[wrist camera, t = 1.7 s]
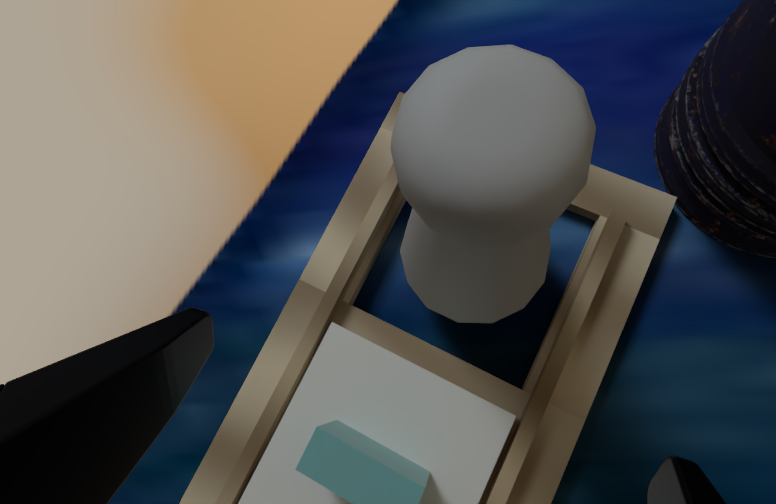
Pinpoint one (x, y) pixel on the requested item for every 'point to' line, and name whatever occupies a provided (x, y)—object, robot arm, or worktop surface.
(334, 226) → the board
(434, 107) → the salt shaker
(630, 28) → the worktop surface
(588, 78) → the worktop surface
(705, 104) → the storage jar
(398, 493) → the cover
